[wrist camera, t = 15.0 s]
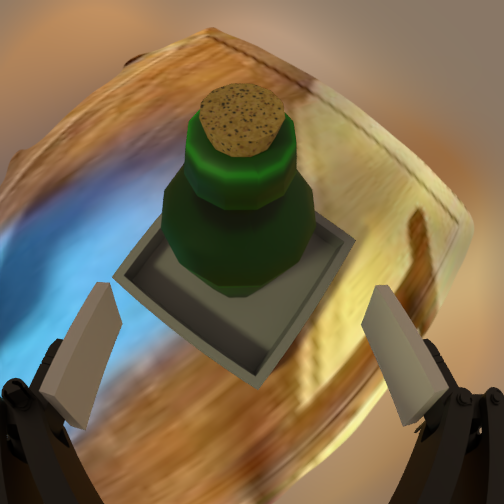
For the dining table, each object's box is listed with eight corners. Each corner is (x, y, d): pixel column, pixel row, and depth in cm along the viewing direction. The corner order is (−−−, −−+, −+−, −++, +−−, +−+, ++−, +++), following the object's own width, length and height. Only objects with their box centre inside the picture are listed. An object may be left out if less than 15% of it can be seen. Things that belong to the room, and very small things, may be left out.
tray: (124, 282, 36) (111, 277, 32) (220, 166, 42) (218, 149, 37) (255, 382, 34) (257, 390, 29) (343, 249, 39) (355, 240, 35)
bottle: (263, 219, 38) (311, 36, 11) (287, 293, 36) (419, 204, 9) (188, 239, 37) (109, 70, 10) (208, 316, 35) (118, 286, 8)
